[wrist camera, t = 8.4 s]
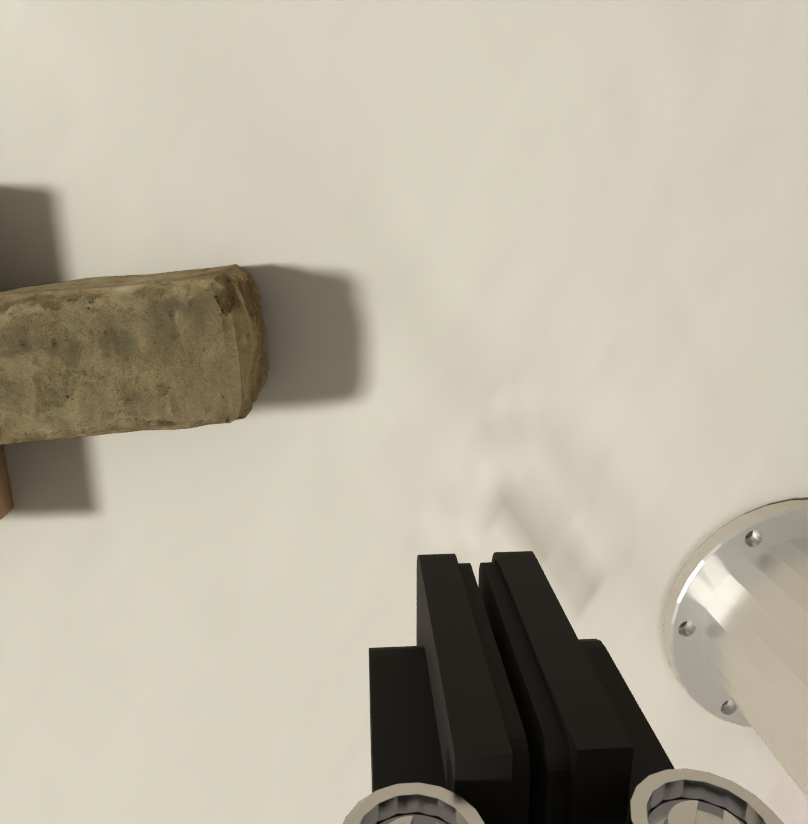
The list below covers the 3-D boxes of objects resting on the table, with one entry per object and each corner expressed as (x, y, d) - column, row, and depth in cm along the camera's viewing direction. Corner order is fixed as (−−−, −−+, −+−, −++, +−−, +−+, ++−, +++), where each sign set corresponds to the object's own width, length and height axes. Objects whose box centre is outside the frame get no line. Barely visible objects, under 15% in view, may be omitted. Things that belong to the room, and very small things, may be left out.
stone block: (-19, 288, 30) (-90, 304, 25) (258, 258, 30) (241, 267, 25) (17, 420, 31) (-43, 459, 26) (278, 390, 32) (267, 422, 27)
